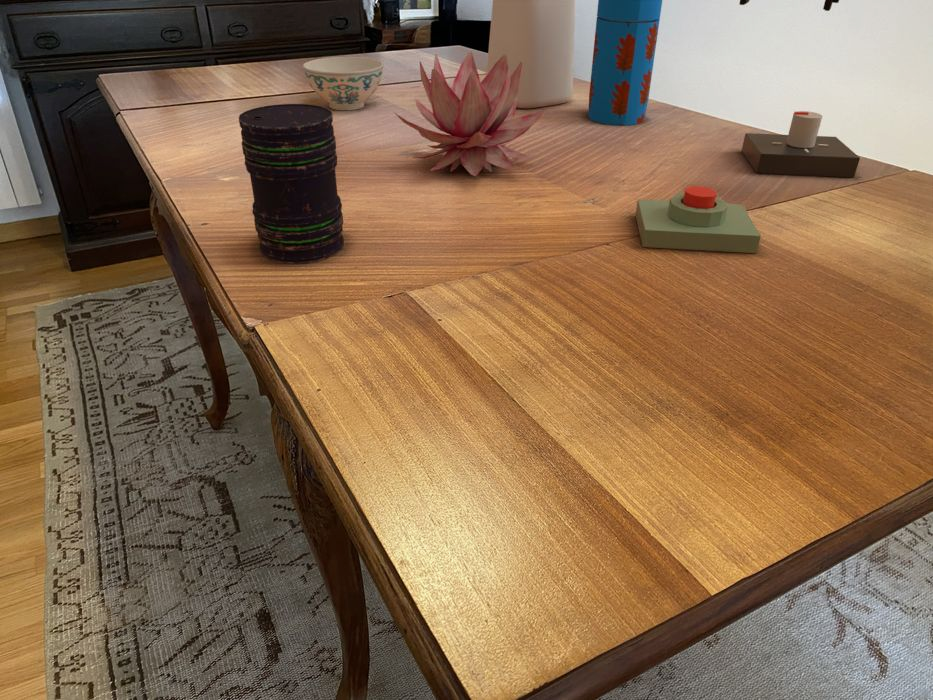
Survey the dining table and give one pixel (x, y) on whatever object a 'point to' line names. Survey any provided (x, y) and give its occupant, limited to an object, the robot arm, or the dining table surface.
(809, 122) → the temp dial
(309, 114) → the dark brown cylinder
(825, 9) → the robot arm
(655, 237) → the switch block
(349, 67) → the chinaware
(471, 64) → the decorative flower
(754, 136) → the dial base
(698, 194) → the power button
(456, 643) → the dining table surface
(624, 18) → the thermos
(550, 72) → the plastic bottle
